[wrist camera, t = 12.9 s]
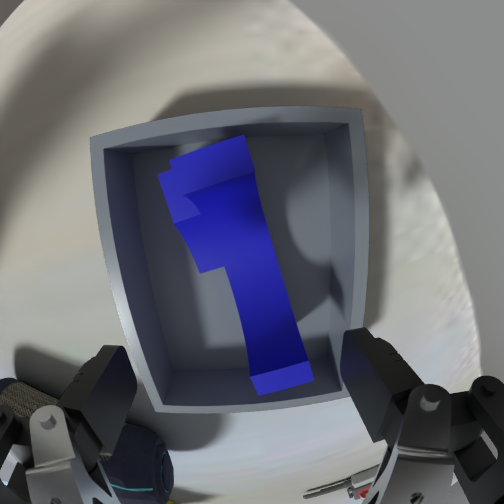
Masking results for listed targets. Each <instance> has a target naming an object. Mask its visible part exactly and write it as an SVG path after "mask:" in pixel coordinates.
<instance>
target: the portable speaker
mask: <svg viewBox="0 0 504 504" xmlns="http://www.w3.org/2000/svg"><path fill="white" fill-rule="evenodd" d="M58 401H59V400H58V399H56V398H53V397H51V396H49V395H47V394H45V393H43V392H40V391H39V390H36V389H34V388H32V387H30V386H28V385H26V384H25V383H23V382H21V381H19V380H16V379H14V378H4V379H0V405H3V404H4V405H8V406H10V407H11V408H12V409H13V411H14V412H15V414H16V415H17V416H18V417H31V416H32V414H33V413H34V412H35V411H36V410H37V409H39V408H41V407H43V406H47V405H54V406H56V404H57V403H58ZM98 460H99V461H100V463H101V465H102V467H103V469H104V472H105V474H106V476H107V478H108V480H109V482H110V484H111V486H112V488H113V490H114V492H115V494H116V496H117V498H118V500H119V502H120V503H121V504H166V503H167V502H168V501H169V496H170V494H171V490H172V488H173V485H174V472H173V465H172V462H171V459H170V456H169V453H168V451H167V448H166V445H165V443H164V442H163V440H162V439H161V438H160V437H158V436H157V435H156V434H154V433H153V432H152V431H150V430H148V429H146V428H143V427H141V426H138V425H133V424H128V423H124V425H123V427H122V430H121V433H120V435H119V438H118V441H117V444H116V446H115V449H114V452H113V455H112V456H110V455H106V454H101V453H100V454H99V457H98Z"/></svg>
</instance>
